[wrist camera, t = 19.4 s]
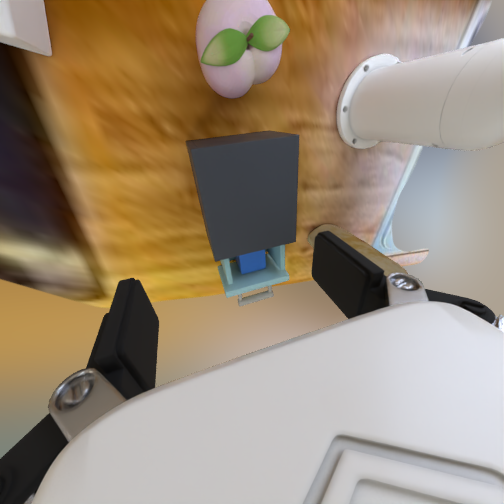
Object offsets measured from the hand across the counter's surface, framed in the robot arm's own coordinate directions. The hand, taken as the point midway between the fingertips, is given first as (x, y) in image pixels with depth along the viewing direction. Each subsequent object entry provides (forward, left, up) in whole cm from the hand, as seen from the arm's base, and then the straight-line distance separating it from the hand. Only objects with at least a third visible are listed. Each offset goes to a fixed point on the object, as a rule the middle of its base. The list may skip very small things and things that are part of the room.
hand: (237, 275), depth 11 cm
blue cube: (-6, +14, -24) cm, 29 cm away
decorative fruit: (-7, -13, -26) cm, 30 cm away
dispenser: (-6, +3, -26) cm, 27 cm away
